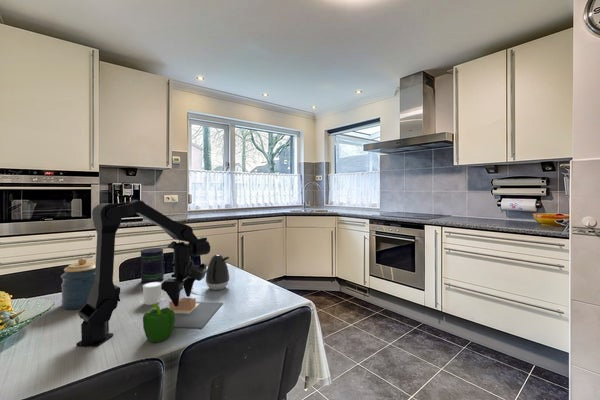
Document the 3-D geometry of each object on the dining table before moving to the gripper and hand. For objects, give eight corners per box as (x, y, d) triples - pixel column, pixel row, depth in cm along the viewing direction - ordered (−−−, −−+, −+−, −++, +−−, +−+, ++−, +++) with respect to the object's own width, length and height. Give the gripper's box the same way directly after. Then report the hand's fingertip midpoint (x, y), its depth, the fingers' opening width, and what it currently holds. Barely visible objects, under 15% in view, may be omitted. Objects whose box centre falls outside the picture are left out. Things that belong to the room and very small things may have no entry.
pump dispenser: (224, 292, 122) (223, 257, 122) (201, 291, 124) (201, 256, 123) (233, 285, 132) (233, 252, 132) (212, 284, 134) (211, 251, 133)
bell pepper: (179, 337, 85) (179, 304, 85) (150, 349, 79) (149, 313, 79) (167, 328, 91) (166, 297, 90) (139, 338, 84) (138, 305, 84)
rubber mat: (201, 328, 90) (201, 326, 90) (147, 326, 92) (147, 325, 92) (222, 303, 110) (222, 302, 110) (177, 302, 112) (177, 301, 112)
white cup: (154, 306, 108) (154, 287, 108) (138, 304, 110) (138, 286, 109) (166, 299, 115) (166, 282, 115) (151, 298, 116) (151, 281, 116)
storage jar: (143, 278, 141) (142, 248, 141) (165, 277, 144) (164, 247, 144) (138, 285, 132) (138, 253, 131) (162, 283, 135) (161, 251, 134)
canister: (94, 294, 120) (93, 253, 119) (110, 301, 113) (109, 256, 112) (55, 305, 109) (54, 259, 108) (70, 313, 102) (69, 264, 101)
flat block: (169, 309, 103) (169, 301, 103) (174, 305, 107) (174, 297, 107) (190, 310, 103) (190, 302, 103) (195, 306, 107) (195, 298, 107)
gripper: (192, 266, 95) (193, 312, 95) (213, 253, 113) (213, 292, 114) (159, 265, 96) (160, 311, 96) (185, 253, 114) (186, 292, 115)
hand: (182, 301), depth 105 cm, fingers open, 9 cm apart
